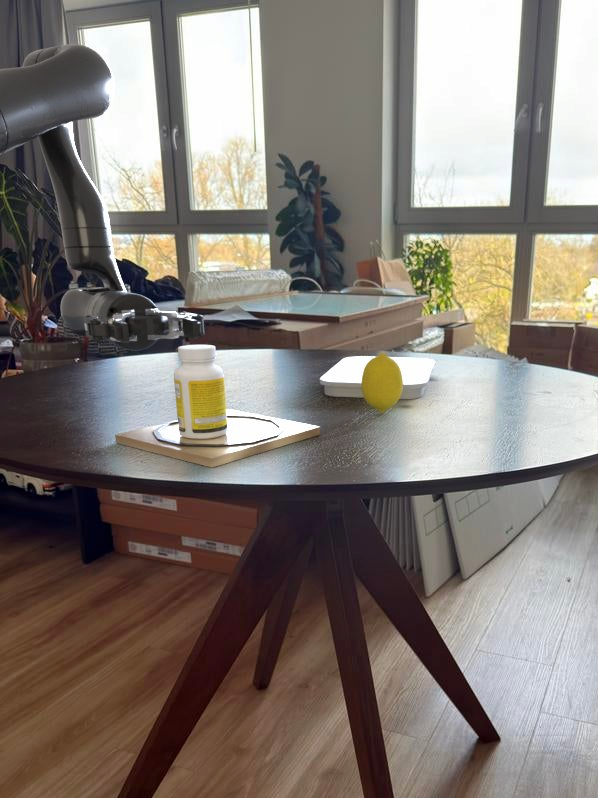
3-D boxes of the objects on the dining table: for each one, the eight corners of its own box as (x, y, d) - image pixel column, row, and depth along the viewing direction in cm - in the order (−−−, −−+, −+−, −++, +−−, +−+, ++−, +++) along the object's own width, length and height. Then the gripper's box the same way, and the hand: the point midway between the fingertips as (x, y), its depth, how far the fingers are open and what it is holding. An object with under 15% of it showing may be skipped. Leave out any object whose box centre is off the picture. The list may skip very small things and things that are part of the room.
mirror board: (211, 467, 73) (211, 456, 73) (115, 442, 82) (114, 432, 82) (320, 434, 86) (320, 424, 86) (227, 416, 95) (226, 407, 95)
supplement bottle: (237, 431, 83) (231, 345, 80) (208, 442, 79) (201, 351, 75) (199, 426, 85) (192, 342, 82) (168, 437, 81) (160, 348, 77)
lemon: (360, 417, 95) (360, 356, 92) (362, 408, 100) (362, 349, 97) (402, 417, 95) (403, 356, 92) (402, 408, 100) (403, 350, 97)
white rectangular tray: (436, 371, 129) (436, 358, 129) (425, 400, 105) (425, 385, 104) (346, 368, 131) (346, 355, 131) (316, 396, 107) (315, 381, 106)
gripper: (67, 293, 96) (97, 301, 83) (174, 290, 103) (215, 297, 90) (75, 350, 98) (105, 366, 85) (178, 344, 106) (219, 358, 93)
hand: (161, 331), depth 88 cm, fingers open, 8 cm apart
